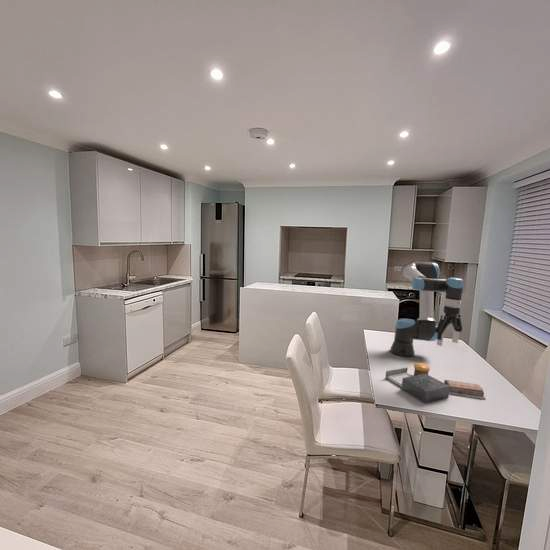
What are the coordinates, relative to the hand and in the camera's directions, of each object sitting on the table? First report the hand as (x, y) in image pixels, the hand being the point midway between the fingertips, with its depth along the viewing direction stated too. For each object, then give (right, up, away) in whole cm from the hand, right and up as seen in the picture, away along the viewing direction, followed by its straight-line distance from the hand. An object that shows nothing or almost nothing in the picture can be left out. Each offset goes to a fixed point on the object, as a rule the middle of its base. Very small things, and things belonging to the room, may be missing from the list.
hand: (447, 343), depth 164 cm
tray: (-25, -20, -4) cm, 32 cm away
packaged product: (+1, -23, -11) cm, 25 cm away
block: (-13, -20, +3) cm, 24 cm away
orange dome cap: (-13, -15, +3) cm, 20 cm away
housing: (-20, -21, -15) cm, 33 cm away
